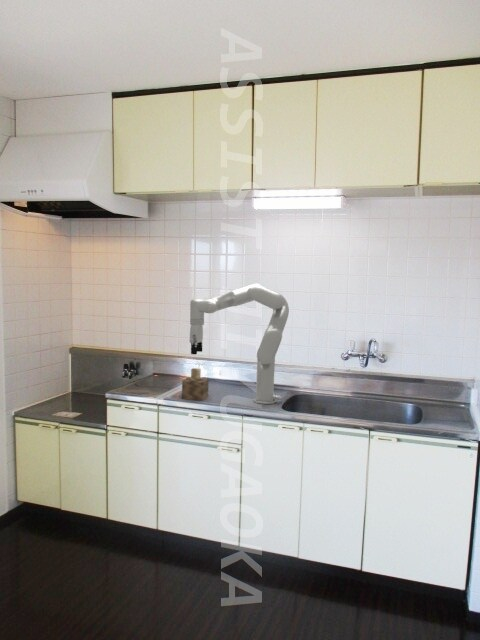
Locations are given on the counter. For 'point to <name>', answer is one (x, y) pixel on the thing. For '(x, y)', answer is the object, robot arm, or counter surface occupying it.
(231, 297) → the robot arm
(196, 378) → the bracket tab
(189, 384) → the brown block
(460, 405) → the counter surface
